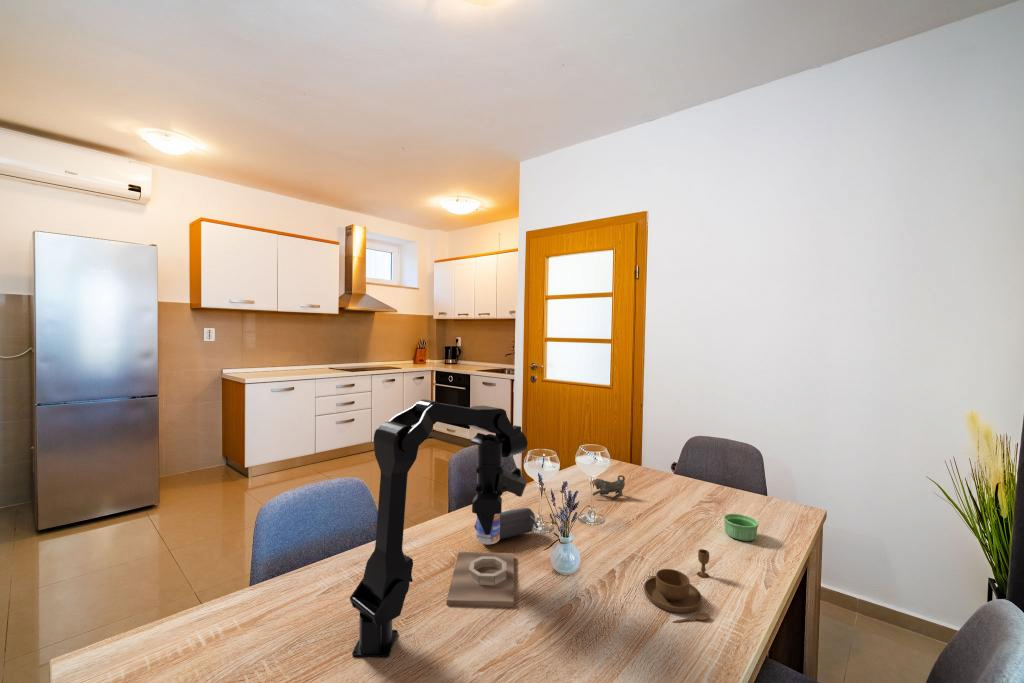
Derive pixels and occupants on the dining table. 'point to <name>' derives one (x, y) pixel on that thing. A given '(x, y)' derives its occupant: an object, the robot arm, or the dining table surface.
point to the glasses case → (515, 522)
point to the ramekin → (740, 527)
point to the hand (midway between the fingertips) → (488, 528)
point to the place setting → (677, 590)
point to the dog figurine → (609, 487)
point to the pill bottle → (494, 532)
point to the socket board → (483, 580)
